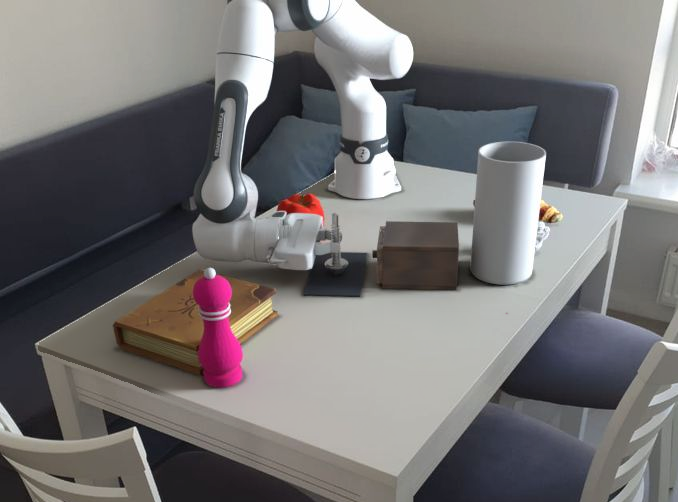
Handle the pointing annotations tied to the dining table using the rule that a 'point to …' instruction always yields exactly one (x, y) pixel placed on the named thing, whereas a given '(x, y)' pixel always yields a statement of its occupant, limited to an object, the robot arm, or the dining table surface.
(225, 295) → the pepper mill
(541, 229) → the frog figurine
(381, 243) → the drawer
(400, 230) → the cabinet
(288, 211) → the tomato
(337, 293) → the mat
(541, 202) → the croissant
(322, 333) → the dining table surface
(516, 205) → the cylinder vase
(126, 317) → the diary
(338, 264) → the screw
